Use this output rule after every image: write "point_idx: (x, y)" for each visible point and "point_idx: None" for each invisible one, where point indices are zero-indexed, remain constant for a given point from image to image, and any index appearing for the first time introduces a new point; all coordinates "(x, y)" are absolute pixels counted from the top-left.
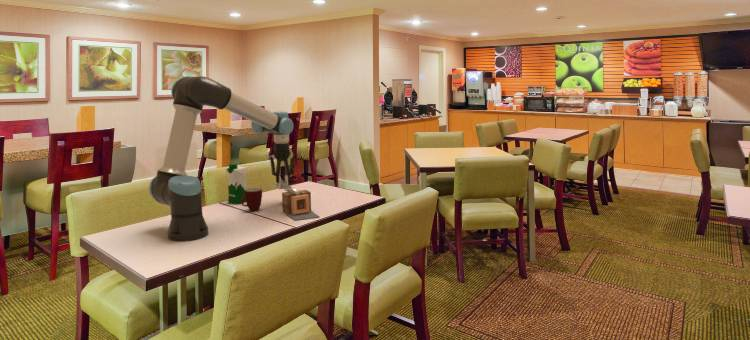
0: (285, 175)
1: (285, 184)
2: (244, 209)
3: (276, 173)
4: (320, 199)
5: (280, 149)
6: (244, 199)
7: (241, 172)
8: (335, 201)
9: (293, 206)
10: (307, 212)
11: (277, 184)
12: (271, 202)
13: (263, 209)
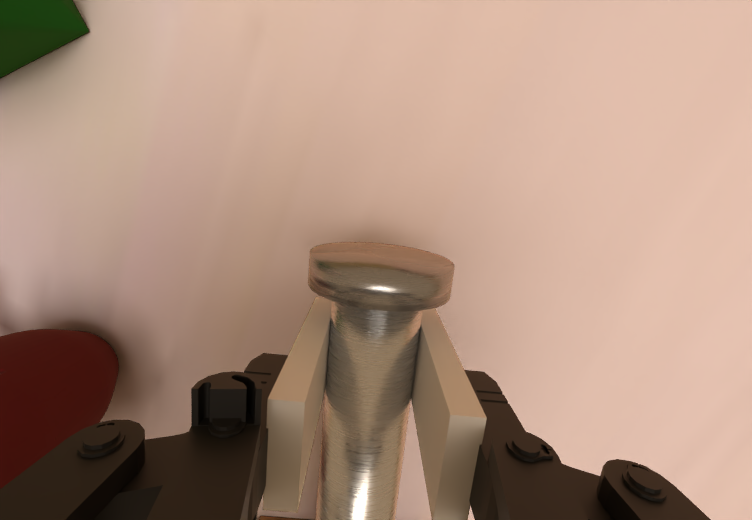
0: (450, 445)
1: (351, 502)
2: (14, 303)
3: (195, 477)
4: (684, 344)
5: None
6: (17, 50)
7: None
8: (727, 460)
9: None
10: None
11: (310, 283)
12: (285, 203)
13: (156, 383)
